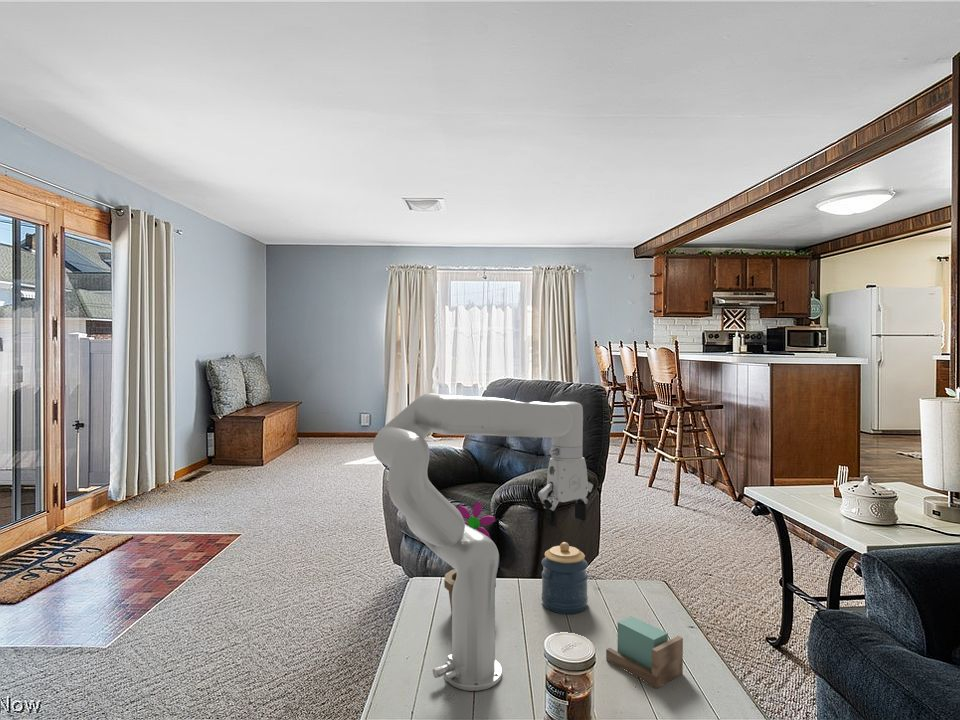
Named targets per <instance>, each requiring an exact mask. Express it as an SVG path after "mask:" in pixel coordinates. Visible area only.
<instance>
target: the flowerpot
mask: <svg viewBox="0 0 960 720" xmlns="http://www.w3.org/2000/svg"><path fill="white" fill-rule="evenodd" d="M456 508H457V509H458V510H459V512H460V513H461V515H462V517H463V519H464V523H465V524H466V525H467V526H469V527H471V528H473V529H475V530H477V531H479V532H481V533H483V534H484V535H486V536H488V537H489V538H490V539H491V536H490V533H489V531H488V530H486V529H485V527H483V526H487V525H491V524H492V523H494V522H495V521H496V517H495V516H492V515H485V516H484V515H483V516H481V518H480V519H479V518H478V517H479V516H480V515H481V514H482V511H483V510H482V508H483V505H482V502H481V501H479V500H478V501H477V502H476V503H475V504H474V505H473V508H472V516H471V512H470V511H469V510H468V508H466V507H465V506H463V505H460V504H459V505H457V507H456ZM465 519H466V520H467V521H466V520H465ZM480 524H481V525H483V526H482V527H481V526H480ZM456 576H457V572H456V570H455V569H454V568H452V569H451V570H450V571H448V572H446V573H445V574H444V583H443V584H444V586H443V587H444V588H445V589H446V590H447V591H448V596H449V605H450V606H449V607H450V612H451V614H452V590H453V586H454V583H455V580H456ZM496 582H497V581H496ZM496 582H495V588H496V587H497V585H496V584H497V583H496Z"/></svg>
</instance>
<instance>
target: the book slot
mask: <svg viewBox="0 0 960 720" xmlns="http://www.w3.org/2000/svg"><path fill="white" fill-rule="evenodd" d="M683 644H684V637H681V636H680V635H677V636H675V637H673V638H671V639H668V641H667V642H665V643H663V644H661V645H659V646H657V647H655V648H653V649H652V671H651V670H650V669H648V668H646V667H644V666H642V665H640V664H639V663H637V662H635V661H633V660H631V659H629V658H628V657H626V656H624V655H622V654H620V653H618V652H617V651H618V650H617V651H616V650H614V649H613V648H611V647H607V649H605V651H606V652H605V655H606V656H605V657H606V659H607V660H609V661H611V662H612V663H614V664H615V665H614V664H613V665H614V666H616V665H617V666H616V667H618V666H619V667H621V668H623V669H625V670H627V671H628V672H630V673H632V674H633V675H635V676H637V677H639V678H641V679H642V680H644V681H645V682H647V683H648V684H647V683H646V684H647V685H649V684H650V685H649V686H651V685H652V686H653V688H654V687H655V688H654V689H656V688H657V689H659V688H660V686H661V685H662V686H664V685H666V684H667V683H666V682H668V681H669V682H671V681H672V680H671V679H673V678H674V679H676V678H678V677H679V676H678V675H680V674H681V675H683V674H684V673H683V672H684V671H683V668H684V667H683V665H684V664H683V663H684V654H683V653H684V652H683V651H684V645H683ZM606 659H605V660H606ZM607 660H606V661H607ZM609 661H608V662H609ZM611 662H610V663H611ZM612 663H611V664H612ZM619 667H618V668H619ZM621 668H620V669H621ZM623 669H622V670H623ZM625 670H624V671H625ZM628 672H627V673H628ZM630 673H629V674H630ZM682 673H683V674H682ZM633 675H632V676H633ZM681 675H680V676H681ZM635 676H634V677H635ZM677 676H678V677H677ZM637 677H636V678H637ZM675 677H676V678H675ZM674 679H673V680H674ZM642 680H641V681H642ZM670 680H671V681H670ZM644 681H643V682H644ZM645 682H644V683H645ZM669 682H668V683H669ZM665 683H666V684H665ZM663 684H664V685H663ZM652 686H651V687H652ZM662 686H661V687H662ZM658 687H659V688H658Z"/></svg>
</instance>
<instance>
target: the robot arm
mask: <svg viewBox="0 0 960 720" xmlns="http://www.w3.org/2000/svg"><path fill="white" fill-rule="evenodd" d="M583 409H584V408H583V405H582V404H581V403H580V402H576V401H557V402H544V401H530V402H524V401H517V400H511V399H507V398H500V397H492V396H487V397H486V396H469V395H468V396H467V395H453V394H452V395H451V394H439V393H432V392H430V393H429V392H428V393H425V394H424V393H423V394H422V395H420V396H418V397H417V398H416V399H415V400H413V401H411V403H410V404H408V405H407V406H406V407H405V408H404V409H403V410H402V411H400V412H399V413H398V414H397V415H395V416H394V417H393V418H392V419H391V420H389V422H388V423H386V424H385V425H384V426H383V427H382V428H381V429H380V430H379V431H378V432H377V434H376V435H375V438H374V440H373V443H372V444H373V446H372V449H373V454H374V457H375V458H376V459H377V460H378V461H379V462H380V463H381V464H384V466H387V467H389V473H388V479H387V487H388V488H387V489H388V495H389V497H390V500H391V502H392V503H393V505H394V506H395V508H397V509H398V511H399V512H400V513H402V515H403V516H404V517H405V521H406V524H407V526H408V529H410V531H411V532H412V533H413V534H414V535H415V536H416V537H417V538H418V539H419V540H420V541H421V542H422V543H423V544H425V546H426V547H427V548H429V549H430V550H431V551H432V552H433V553H434V554H435V555H437V557H439V558H440V559H441V560H442V561H443V562H445V563H446V564H448V565H449V566H451V568H452V569H455V570H456V572H457V576H456V580H455V583H454V586H453V590H452V613H451V654H449V655H448V656H447V661H445V662H444V664H442V665H439V666H436V667H433V669H432V675H433V677H434V678H435V679H438V678H440V677H443V676H444V680H445V681H446V682H448V683H449V684H450V685H451V686H453V687H454V688H456V689H458V690H459V689H460V690H462V691H463V690H464V691H467V692H469V691H471V692H476V691H477V692H478V691H484V690H487V689H491V688H493V687H494V686H496V685H497V684H498V683H499V682H500V681H501V680H502V675H503V673H502V672H503V669H502V665H501V664H500V663H499V662H498V661H497V660H496V587H495V582H497V574H498V568H499V565H500V553H499V550H498V547H497V545H496V544H495V542H494V541H493V540H492V539H491V537H490V538H489V537H488V536H486V535H484V534H483V533H481V532H479V531H477V529H473V528H471V527H469V526H467V525H466V524H465V523H464V521H465V518H463V517H462V515H461V513H460V512H459V510H458V508H457V507H456V506H455V505H454V504H452V503H451V502H450V501H449V499H447V498H446V497H445V496H444V495H443V494H442V493H441V492H440V491H439V490H438V489H437V488H436V487H435V486H434V485H433V484H432V482H431V481H430V479H429V476H428V468H429V462H430V456H431V455H430V447H429V444H428V442H427V440H426V439H425V438H426V437H427V436H428V435H430V433H434V434H439V435H446V436H496V437H523V438H524V437H525V438H550V439H551V449H549V451H548V452H549V455H550V456H551V457H550V458H549V461H548V467H547V474H546V485H545V486H544V487H543V488H541V490H539V491H538V493H537V496H538V498H539V499H540V504H542V506H543V509H545V524H546V525H548V526H550V527H553V528H556V527H557V526H558V511H557V509H556V508H557V506H558V504H560V503H566V502H572V501H575V503H574V518H575V519H578V520H581V521H586V518H587V504H588V503H589V498H590V497H591V492H592V490H593V487H594V484H593V483H591V482H590V481H588V480H589V479H588V469H587V464H586V463H587V462H586V459H585V457H583V448H584V447H583V437H584V436H583V435H584V434H583V433H584V432H583V429H584V427H583V425H584V410H583Z"/></svg>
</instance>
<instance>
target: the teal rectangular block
mask: <svg viewBox="0 0 960 720" xmlns="http://www.w3.org/2000/svg"><path fill="white" fill-rule="evenodd" d="M667 641H669V633H668V632H667V631H664V630H662V629H660V628H659V627H656V626H654V625H651V624H649V623H647V622H645V621H643V620H641V619H639V618H636V617H635V616H632V615H631V616H629V617H626V618H624V619H621V620H619V621H617V652H618V653H620V654H622V655H624V656H626V657H628V658H629V659H631V660H633V661H635V662H637V663H639V664H640V665H642V666H644V667H646V668H648V669H650V670H651V671H652V649H653V648H655V647H657V646H659V645H661V644H663V643H665V642H667Z"/></svg>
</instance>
